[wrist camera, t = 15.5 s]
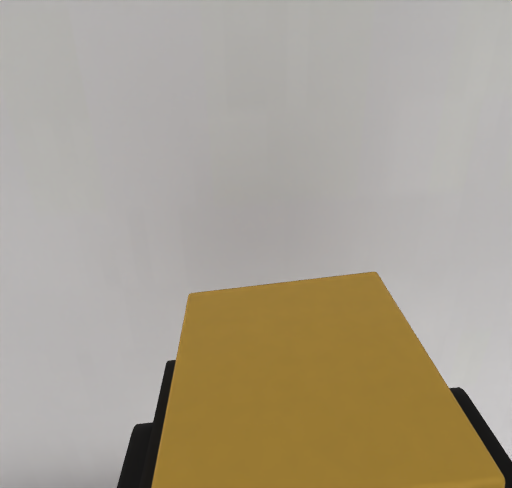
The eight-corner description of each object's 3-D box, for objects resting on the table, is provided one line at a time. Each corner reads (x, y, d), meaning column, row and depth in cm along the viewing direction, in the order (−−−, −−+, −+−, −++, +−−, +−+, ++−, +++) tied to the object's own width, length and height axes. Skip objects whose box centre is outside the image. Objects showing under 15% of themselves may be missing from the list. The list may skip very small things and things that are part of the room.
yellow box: (188, 292, 9) (142, 521, 5) (376, 269, 9) (509, 479, 5) (226, 488, 12) (220, 765, 7) (377, 471, 12) (466, 738, 7)
